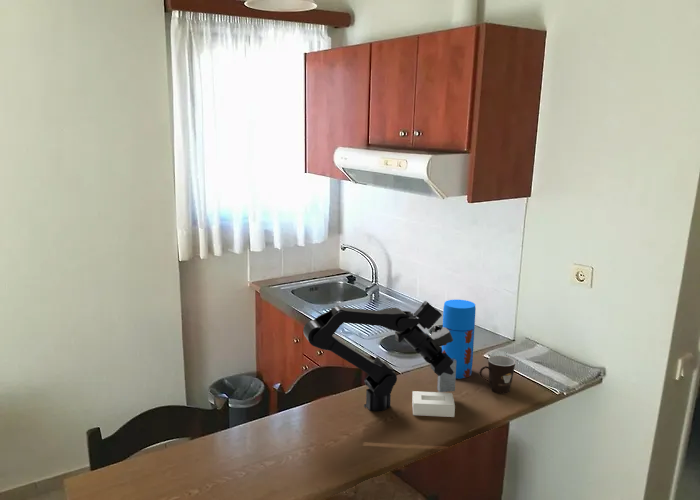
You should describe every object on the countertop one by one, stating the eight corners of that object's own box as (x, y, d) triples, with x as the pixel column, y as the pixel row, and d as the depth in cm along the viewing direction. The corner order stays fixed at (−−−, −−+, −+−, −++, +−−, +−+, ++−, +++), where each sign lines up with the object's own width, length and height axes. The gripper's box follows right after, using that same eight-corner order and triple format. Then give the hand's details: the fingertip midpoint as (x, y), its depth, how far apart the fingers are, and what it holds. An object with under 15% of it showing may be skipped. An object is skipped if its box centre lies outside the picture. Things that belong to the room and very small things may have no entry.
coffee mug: (510, 384, 188) (512, 356, 186) (515, 396, 180) (517, 366, 178) (475, 382, 189) (477, 354, 187) (478, 394, 181) (480, 364, 179)
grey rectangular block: (439, 392, 173) (440, 361, 171) (437, 389, 175) (438, 359, 173) (454, 391, 174) (456, 360, 172) (452, 388, 176) (454, 358, 174)
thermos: (434, 369, 200) (437, 301, 195) (459, 364, 204) (463, 298, 199) (452, 380, 190) (456, 310, 185) (478, 375, 195) (482, 306, 190)
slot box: (412, 417, 165) (413, 403, 164) (412, 404, 173) (412, 391, 172) (454, 419, 164) (454, 405, 163) (451, 406, 172) (452, 392, 171)
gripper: (448, 331, 160) (482, 365, 164) (427, 311, 178) (458, 342, 182) (420, 358, 160) (455, 392, 165) (402, 336, 178) (434, 367, 183)
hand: (451, 372), depth 174 cm, fingers closed on grey rectangular block, 2 cm apart
